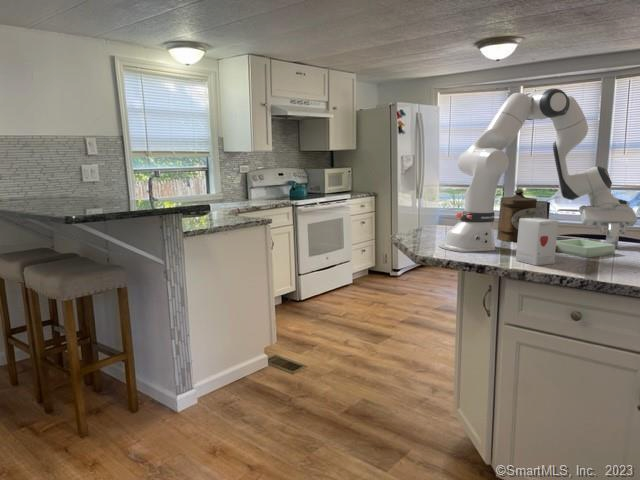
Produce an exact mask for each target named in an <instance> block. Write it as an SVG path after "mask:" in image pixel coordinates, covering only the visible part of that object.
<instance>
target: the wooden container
mask: <svg viewBox="0 0 640 480" xmlns="http://www.w3.org/2000/svg"><path fill="white" fill-rule="evenodd" d="M499 201H500V204H499V205H500V206H499V212H498V213H499V214H498V224H497V239H498V240H499V241H503V242H509V243H517V240H518V229H519V219H520V218H536V204H537V201H538V199H537V198H534V197H525V196H524V190H522V189H517V188H516V189H515V190H514V195H513V196H505V197H504V196H503V197H501V198H500V200H499Z"/></svg>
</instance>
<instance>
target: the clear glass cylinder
mask: <svg viewBox="0 0 640 480" xmlns="http://www.w3.org/2000/svg"><path fill="white" fill-rule="evenodd" d="M606 227H607V228H606V231H607V232H606V237H605V243H608V244H613V245H615V250H617V249H618V245H619V235H620V232H619V231H620V230H621V227H620V223H613V222H609V223H608V226H606Z"/></svg>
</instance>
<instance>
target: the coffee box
mask: <svg viewBox="0 0 640 480" xmlns="http://www.w3.org/2000/svg"><path fill="white" fill-rule="evenodd" d="M550 205H551V202H550V201H548V200H546V201H545V200H537V204H536V218H545V219H550V218H549V217H550V210H551V209H550V207H551V206H550Z"/></svg>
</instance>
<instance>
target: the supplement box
mask: <svg viewBox="0 0 640 480" xmlns="http://www.w3.org/2000/svg"><path fill="white" fill-rule="evenodd" d="M558 229H559V220H557V219H550V218H549V219H545V218H520V219H519V229H518V240H517V242H516V253H515V261H516V262H517V261H518V262H521V263H526V264H529V265H533V266H543V265H553V264H555V259H556V258H555V257H556V252H555V250H556V241H558V240H557V237H558Z"/></svg>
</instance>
